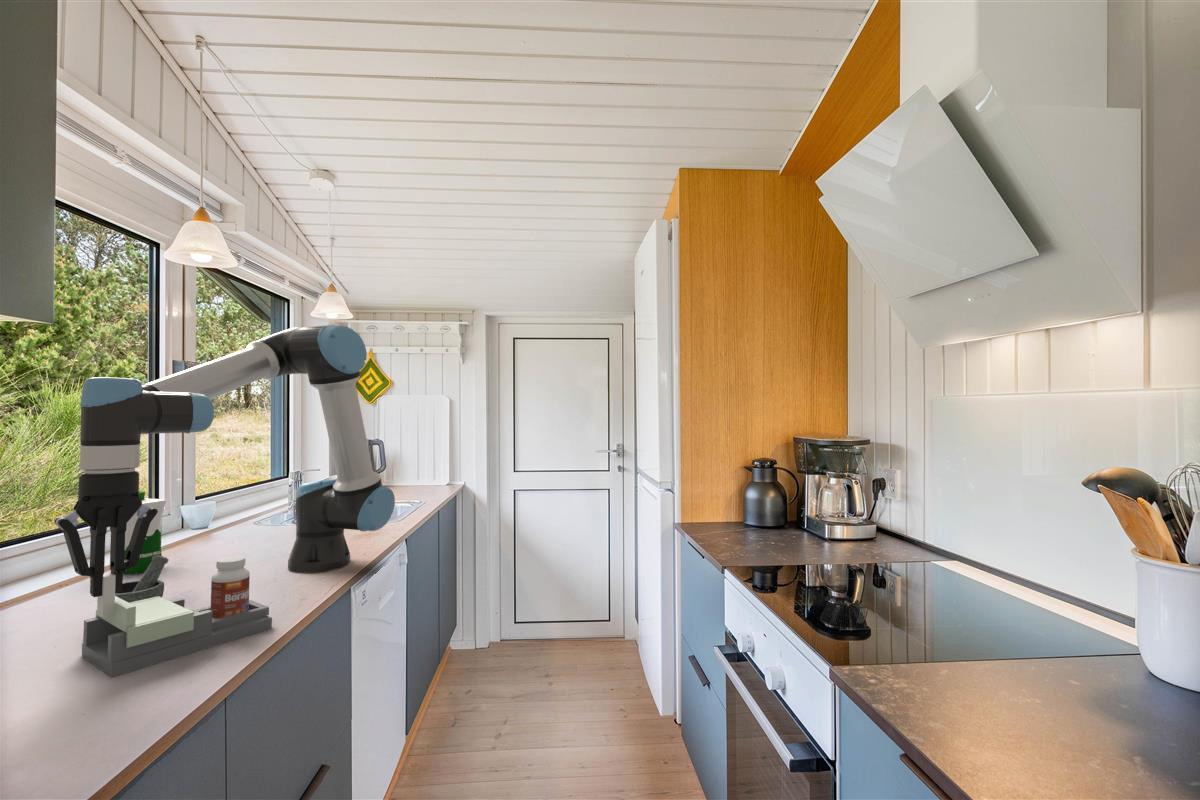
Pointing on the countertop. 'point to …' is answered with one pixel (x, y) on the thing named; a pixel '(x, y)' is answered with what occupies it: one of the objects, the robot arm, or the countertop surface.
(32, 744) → the countertop surface
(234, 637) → the housing base
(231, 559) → the pill bottle
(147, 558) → the milk carton
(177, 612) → the cover
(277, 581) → the countertop surface
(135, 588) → the mortar and pestle
